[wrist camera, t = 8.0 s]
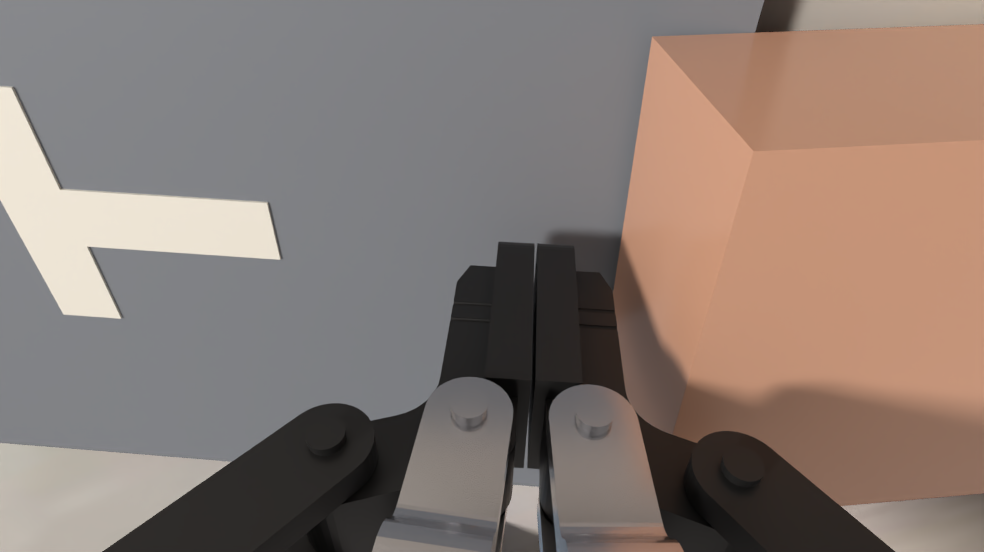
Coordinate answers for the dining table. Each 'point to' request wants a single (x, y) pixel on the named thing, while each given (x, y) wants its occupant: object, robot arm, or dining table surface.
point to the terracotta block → (813, 253)
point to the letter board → (291, 197)
